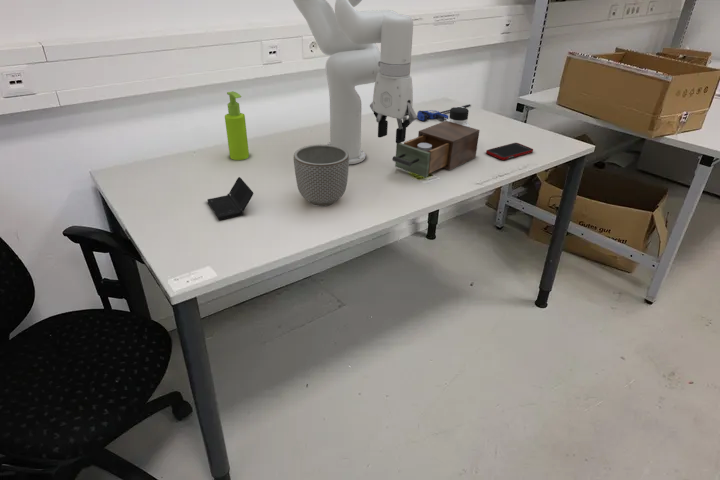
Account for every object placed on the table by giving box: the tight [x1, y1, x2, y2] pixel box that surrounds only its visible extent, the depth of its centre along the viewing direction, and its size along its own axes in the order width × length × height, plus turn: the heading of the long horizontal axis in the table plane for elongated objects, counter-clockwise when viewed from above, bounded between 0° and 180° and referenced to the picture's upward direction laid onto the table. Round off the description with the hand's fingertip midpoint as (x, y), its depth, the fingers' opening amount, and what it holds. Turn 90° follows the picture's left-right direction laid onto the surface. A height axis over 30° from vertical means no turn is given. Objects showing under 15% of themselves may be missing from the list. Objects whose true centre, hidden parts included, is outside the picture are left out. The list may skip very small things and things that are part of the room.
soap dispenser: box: [224, 91, 250, 161], centre depth 148 cm, size 6×7×20 cm
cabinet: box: [417, 120, 481, 171], centre depth 153 cm, size 15×13×9 cm
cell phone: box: [485, 142, 534, 161], centre depth 160 cm, size 8×15×1 cm, turn 123°
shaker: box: [417, 143, 432, 152], centre depth 145 cm, size 4×4×6 cm
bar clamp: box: [416, 104, 472, 122], centre depth 195 cm, size 32×2×10 cm
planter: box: [293, 143, 350, 207], centre depth 125 cm, size 14×14×13 cm
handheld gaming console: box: [207, 176, 255, 221], centre depth 123 cm, size 12×7×10 cm
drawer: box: [392, 135, 451, 179], centre depth 144 cm, size 18×11×7 cm, turn 137°
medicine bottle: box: [445, 106, 471, 127], centre depth 164 cm, size 7×7×12 cm
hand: (391, 138), depth 131 cm, fingers open, 5 cm apart
